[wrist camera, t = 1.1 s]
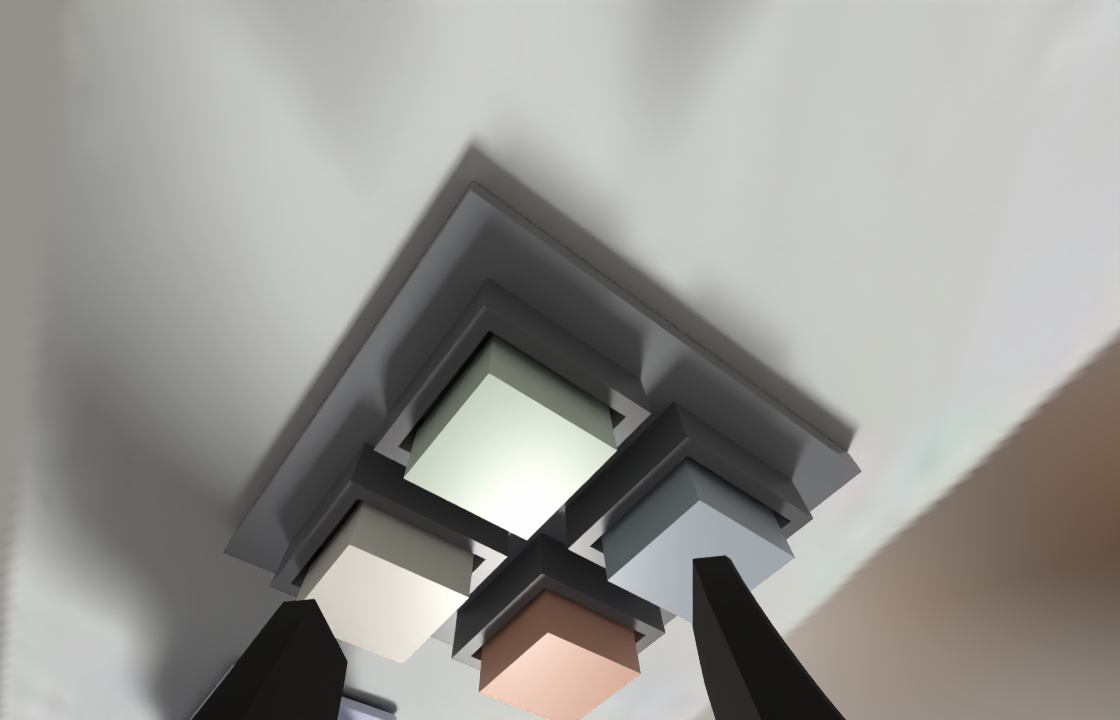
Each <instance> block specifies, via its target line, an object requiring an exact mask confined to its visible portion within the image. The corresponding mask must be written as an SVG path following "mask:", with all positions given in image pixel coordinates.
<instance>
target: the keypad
mask: <svg viewBox="0 0 1120 720" xmlns="http://www.w3.org/2000/svg"><path fill="white" fill-rule="evenodd" d="M493 334H494V335H496V336H498V337H499V338H501V339H502V340H504V341H506V342H507V343H509V344H510V345H512V346H513V347H515V348H517V349H518V350H520V351H521V352H523V353H525V354H526V355H528V356H529V357H531V358H532V359H534V360H536V361H537V362H539V363H540V364H542V365H544V366H545V367H547V368H548V369H550V370H551V371H553V372H555V373H556V374H558V375H559V376H561V377H563V378H564V379H566V380H567V381H569V382H570V383H572V384H574V385H575V386H577V387H578V388H580V389H582V390H583V391H585V392H586V393H588V394H589V395H591V396H593V397H594V398H596V399H597V400H599V401H601V402H602V403H604V404H605V405H607V406H608V407H609V411H610V416H611V421H612V426H613V431H614V436H615V441H616V446H617V451H616V452H615V453H614V454H613V455H612V456H611V457H610V458H609V459H608V460H607V461H606V462H605V463H604V464H603V465H602V466H601V467H600V468H599V469H598V470H597V471H596V472H595V473H594V474H593V475H592V476H591V477H590V478H589V479H588V480H587V481H586V482H585V483H584V484H583V485H582V486H581V487H580V488H579V489H578V490H577V491H576V492H575V493H574V494H573V495H572V496H571V497H570V498H569V499H568V500H567V501H566V502H565V503H564V504H563V505H562V506H561V507H560V508H559V509H558V510H557V511H556V512H555V513H554V514H553V515H552V516H551V517H550V518H549V519H548V520H547V521H546V522H545V523H544V524H543V525H542V526H541V527H540V528H539V529H538V530H537V531H536V532H535V533H534V534H533V535H532V536H531V537H530V538H529V539H528V540H525V539H523V538H521V537H519V536H517V535H515V534H513V533H511V532H509V531H507V530H505V529H503V528H501V527H499V526H497V525H495V524H493V523H491V522H490V521H488V520H486V519H484V518H482V517H480V516H478V515H476V514H474V513H472V512H470V511H468V510H466V509H464V508H462V507H460V506H458V505H456V504H454V503H452V502H450V501H448V500H446V499H444V498H442V497H440V496H438V495H436V494H434V493H432V492H430V491H428V490H426V489H424V488H422V487H420V486H418V485H416V484H414V483H412V482H410V481H408V480H406V479H404V474H405V471H406V467H407V463H408V460H409V456H410V453H411V449H412V446H413V442H414V438H415V435H416V432H417V430H418V429H419V428H420V427H421V425H422V424H423V423H424V422H425V420H426V419H427V418H428V417H429V415H430V414H431V413H432V412H433V410H434V409H435V408H436V406H437V405H438V404H439V403H440V401H441V400H442V399H443V398H444V396H445V395H446V394H447V393H448V391H449V390H450V389H451V387H452V386H453V385H454V384H455V382H456V381H457V380H458V379H459V377H460V376H461V375H462V374H463V372H464V371H465V370H466V369H467V367H468V366H469V365H470V363H471V362H472V361H473V360H474V358H475V357H476V356H477V355H478V353H479V352H480V351H481V350H482V348H483V347H484V346H485V344H486V343H487V342H488V341H489V339H490V338H491V337H492V336H493ZM687 456H688V457H689V458H691V459H692V460H694V461H696V462H697V463H699V464H700V465H702V466H703V467H705V468H707V469H708V470H710V471H711V472H713V473H715V474H716V475H718V476H719V477H721V478H722V479H724V480H726V481H727V482H729V483H730V484H732V485H734V486H735V487H737V488H738V489H740V490H741V491H743V492H745V493H746V494H748V495H749V496H751V497H753V498H754V499H756V500H757V501H759V502H760V503H762V504H764V505H765V506H767V507H768V508H770V509H771V510H772V512H773V514H774V516H775V518H776V520H777V522H778V524H779V526H780V528H781V530H782V532H783V534H784V536H785V538H786V539H787V538H789V537H790V536H791V535H793V534H794V533H795V532H796V531H798V530H799V529H800V528H802V527H803V526H804V525H806V524H807V523H808V522H809V521H811V520H812V519H813V517H812V515H811V513H810V511H812V510H813V509H814V508H815V507H817V506H818V505H819V504H820V503H822V502H823V501H824V500H826V499H827V498H828V497H829V496H831V495H832V494H833V493H835V492H836V491H837V490H838V489H840V488H841V487H842V486H844V485H845V484H846V483H847V482H849V481H850V480H851V479H852V478H854V477H855V476H856V475H858V474H859V473H860V472H861V470H860V468H859V467H858V466H857V464H856V463H855V462H854V460H853V459H852V457H851V456H850V455H849V453H848V452H846V451H845V450H844V449H842V448H841V447H839V446H838V445H837V444H835V443H834V442H833V441H831V440H830V439H828V438H827V437H826V436H824V435H823V434H822V433H820V432H819V431H817V430H816V429H815V428H813V427H812V426H811V425H809V424H808V423H806V422H805V421H804V420H802V419H801V418H800V417H798V416H797V415H795V414H794V413H793V412H791V411H790V410H789V409H787V408H786V407H784V406H783V405H782V404H780V403H779V402H778V401H776V400H775V399H773V398H772V397H771V396H769V395H768V394H767V393H765V392H764V391H762V390H761V389H760V388H758V387H757V386H756V385H754V384H753V383H751V382H750V381H749V380H747V379H746V378H745V377H743V376H742V375H740V374H739V373H738V372H736V371H735V370H734V369H732V368H731V367H729V366H728V365H727V364H725V363H724V362H723V361H721V360H720V359H718V358H717V357H716V356H714V355H713V354H712V353H710V352H709V351H707V350H706V349H705V348H703V347H702V346H701V345H699V344H698V343H696V342H695V341H694V340H692V339H691V338H690V337H688V336H687V335H685V334H684V333H683V332H681V331H680V330H678V329H677V328H676V327H674V326H673V325H672V324H670V323H669V322H667V321H666V320H665V319H663V318H662V317H661V316H659V315H658V314H656V313H655V312H654V311H652V310H651V309H650V308H648V307H647V306H645V305H644V304H643V303H641V302H640V301H639V300H637V299H636V298H634V297H633V296H632V295H630V294H629V293H628V292H626V291H625V290H623V289H622V288H621V287H619V286H618V285H617V284H615V283H614V282H612V281H611V280H610V279H608V278H607V277H606V276H604V275H603V274H601V273H600V272H599V271H597V270H596V269H595V268H593V267H592V266H590V265H589V264H588V263H586V262H585V261H584V260H582V259H581V258H579V257H578V256H577V255H575V254H574V253H573V252H571V251H570V250H568V249H567V248H566V247H564V246H563V245H562V244H560V243H559V242H557V241H556V240H555V239H553V238H552V237H551V236H549V235H548V234H546V233H545V232H544V231H542V230H541V229H540V228H538V227H537V226H535V225H534V224H533V223H531V222H530V221H529V220H527V219H526V218H524V217H523V216H522V215H520V214H519V213H518V212H516V211H515V210H513V209H512V208H511V207H509V206H508V205H507V204H505V203H504V202H502V201H501V200H500V199H498V198H497V197H496V196H494V195H493V194H491V193H490V192H489V191H487V190H486V189H485V188H483V187H482V186H480V185H479V184H478V183H476V182H475V181H473V182H472V184H471V185H470V187H469V188H468V190H467V191H466V193H465V194H464V196H463V197H462V199H461V200H460V202H459V203H458V204H457V206H456V207H455V209H454V210H453V212H452V213H451V215H450V216H449V218H448V219H447V221H446V222H445V224H444V225H443V227H442V228H441V229H440V231H439V232H438V234H437V235H436V237H435V238H434V240H433V241H432V243H431V244H430V246H429V247H428V249H427V250H426V252H425V253H424V255H423V256H422V257H421V259H420V260H419V262H418V263H417V265H416V266H415V268H414V269H413V271H412V272H411V274H410V275H409V277H408V278H407V280H406V281H405V282H404V284H403V285H402V287H401V288H400V290H399V291H398V293H397V294H396V296H395V297H394V299H393V300H392V302H391V303H390V305H389V306H388V308H387V309H386V310H385V312H384V313H383V315H382V316H381V318H380V319H379V321H378V322H377V324H376V325H375V327H374V328H373V330H372V331H371V333H370V334H369V336H368V337H367V338H366V340H365V341H364V343H363V344H362V346H361V347H360V349H359V350H358V352H357V353H356V355H355V356H354V358H353V359H352V361H351V362H350V363H349V365H348V366H347V368H346V369H345V371H344V372H343V374H342V375H341V377H340V378H339V380H338V381H337V383H336V384H335V386H334V387H333V389H332V390H331V391H330V393H329V394H328V396H327V397H326V399H325V400H324V402H323V403H322V405H321V406H320V408H319V409H318V411H317V412H316V414H315V415H314V416H313V418H312V419H311V421H310V422H309V424H308V425H307V427H306V428H305V430H304V431H303V433H302V434H301V436H300V437H299V439H298V440H297V442H296V443H295V444H294V446H293V447H292V449H291V450H290V452H289V453H288V455H287V456H286V458H285V459H284V461H283V462H282V464H281V465H280V467H279V468H278V469H277V471H276V472H275V474H274V475H273V477H272V478H271V480H270V481H269V483H268V484H267V486H266V487H265V489H264V490H263V492H262V493H261V495H260V496H259V497H258V499H257V500H256V502H255V503H254V505H253V506H252V508H251V509H250V511H249V512H248V514H247V515H246V517H245V518H244V520H243V521H242V522H241V524H240V525H239V527H238V528H237V530H236V531H235V533H234V535H233V537H232V538H231V540H230V542H229V543H228V545H227V547H226V549H225V550H224V553H226V554H228V555H231V556H233V557H236V558H238V559H241V560H243V561H246V562H248V563H251V564H253V565H256V566H258V567H260V568H263V569H265V570H268V571H270V572H273V573H275V576H274V578H273V580H272V582H271V584H270V587H272V588H275V589H277V590H280V591H283V592H285V593H288V594H290V595H293V596H295V597H297V596H298V594H299V591H300V589H301V586H302V584H303V581H304V579H305V577H306V574H307V572H308V569H309V567H310V566H311V564H312V563H313V562H314V561H315V559H316V558H317V557H318V556H319V554H320V553H321V552H322V551H323V549H324V548H325V547H326V546H327V544H328V543H329V542H330V540H331V539H332V538H333V537H334V535H335V534H336V533H337V532H338V530H339V529H340V528H341V527H342V525H343V524H344V523H345V522H346V520H347V519H348V518H349V516H350V515H351V514H352V513H353V511H354V510H355V509H356V508H357V506H358V505H359V504H360V503H361V501H364V502H366V503H368V504H370V505H373V506H375V507H377V508H379V509H381V510H383V511H385V512H387V513H389V514H391V515H394V516H396V517H398V518H400V519H402V520H404V521H406V522H408V523H410V524H413V525H415V526H417V527H419V528H421V529H423V530H425V531H427V532H429V533H432V534H434V535H436V536H438V537H440V538H442V539H444V540H446V541H448V542H450V543H453V544H455V545H457V546H459V547H461V548H463V549H465V550H467V551H469V552H472V553H474V557H473V567H472V576H471V585H470V594H469V598H468V599H467V600H466V601H465V602H464V603H463V604H462V605H461V606H460V607H459V608H458V609H457V610H456V611H455V612H454V613H453V614H452V615H451V616H450V617H449V618H448V619H447V620H446V621H445V622H444V623H443V624H442V625H441V626H440V627H439V628H438V629H437V630H436V631H435V632H434V633H433V634H432V635H431V636H430V637H433V638H435V639H438V640H440V641H443V642H445V643H448V644H450V645H452V646H453V650H452V658H451V659H454V660H456V661H459V662H461V663H464V664H466V665H469V666H471V667H474V668H476V669H479V670H481V658H482V645H483V644H484V643H485V642H486V641H488V640H489V639H490V638H491V637H492V636H493V635H494V634H495V633H496V632H497V631H498V630H499V629H501V628H502V627H503V626H504V625H505V624H506V623H507V622H508V621H509V620H510V619H511V618H512V617H514V616H515V615H516V614H517V613H518V612H519V611H520V610H521V609H522V608H523V607H524V606H525V605H527V604H528V603H529V602H530V601H531V600H532V599H533V598H534V597H535V596H536V595H537V594H538V593H540V592H541V591H542V590H543V589H544V588H547V589H550V590H552V591H554V592H556V593H558V594H560V595H562V596H564V597H566V598H569V599H571V600H573V601H575V602H577V603H579V604H581V605H583V606H585V607H587V608H590V609H592V610H594V611H596V612H598V613H600V614H602V615H604V616H606V617H609V618H611V619H613V620H615V621H617V622H619V623H621V624H623V625H625V626H628V627H630V628H632V629H633V631H634V637H635V643H636V649H637V655H638V654H639V653H640V652H641V651H643V650H644V649H645V648H647V647H648V646H649V645H650V644H652V643H653V642H654V641H656V640H657V639H658V638H659V637H661V636H662V635H663V634H665V629H664V625H666V624H667V623H668V622H670V621H671V620H672V619H673V618H675V617H676V616H677V615H675V614H673V613H671V612H669V611H667V610H665V609H663V608H661V607H659V606H657V605H655V604H653V603H651V602H649V601H647V600H645V599H643V598H641V597H639V596H637V595H635V594H633V593H631V592H629V591H627V590H625V589H623V588H621V587H619V586H617V585H615V584H613V583H611V582H609V581H607V574H606V567H605V559H604V552H603V544H602V537H601V535H602V534H604V533H605V532H606V531H607V530H608V529H609V528H610V527H611V526H612V525H613V524H614V523H615V522H617V521H618V520H619V519H620V518H621V517H622V516H623V515H624V514H625V513H626V512H627V511H628V510H630V509H631V508H632V507H633V506H634V505H635V504H636V503H637V502H638V501H639V500H640V499H641V498H643V497H644V496H645V495H646V494H647V493H648V492H649V491H650V490H651V489H652V488H653V487H654V486H656V485H657V484H658V483H659V482H660V481H661V480H662V479H663V478H664V477H665V476H666V475H667V474H669V473H670V472H671V471H672V470H673V469H674V468H675V467H676V466H677V465H678V464H679V463H680V462H682V461H683V460H684V459H685V458H686V457H687Z"/></svg>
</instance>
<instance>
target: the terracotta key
mask: <svg viewBox="0 0 1120 720" xmlns="http://www.w3.org/2000/svg"><path fill="white" fill-rule="evenodd" d="M639 674H641V673H640V667H639V661H638V655H637V649H636V643H635V637H634V631H633V629H632V628H630V627H628V626H625V625H623V624H621V623H619V622H617V621H615V620H613V619H611V618H609V617H606V616H604V615H602V614H600V613H598V612H596V611H594V610H592V609H590V608H587V607H585V606H583V605H581V604H579V603H577V602H575V601H573V600H571V599H569V598H566V597H564V596H562V595H560V594H558V593H556V592H554V591H552V590H550V589H547V588H544V589H543V590H542V591H541V592H540V593H538V594H537V595H536V596H535V597H534V598H533V599H532V600H531V601H530V602H529V603H528V604H527V605H525V606H524V607H523V608H522V609H521V610H520V611H519V612H518V613H517V614H516V615H515V616H514V617H512V618H511V619H510V620H509V621H508V622H507V623H506V624H505V625H504V626H503V627H502V628H501V629H499V630H498V631H497V632H496V633H495V634H494V635H493V636H492V637H491V638H490V639H489V640H488V641H486V642H485V643H484V644H483V645H482V658H481V671H480V683H479V693H481V694H483V695H486V696H489V697H491V698H494V699H497V700H499V701H502V702H504V703H507V704H510V705H512V706H515V707H518V708H520V709H523V710H525V711H528V712H531V713H533V714H536V715H538V716H541V717H544V718H546V719H549V720H580V719H581V718H582V717H584V716H585V715H586V714H588V713H589V712H590V711H592V710H593V709H594V708H596V707H597V706H598V705H600V704H601V703H602V702H604V701H605V700H606V699H608V698H609V697H610V696H612V695H613V694H614V693H616V692H617V691H618V690H620V689H621V688H622V687H624V686H625V685H626V684H627V683H629V682H630V681H631V680H633V679H634V678H635V677H637V676H638V675H639Z"/></svg>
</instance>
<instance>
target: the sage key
mask: <svg viewBox="0 0 1120 720" xmlns="http://www.w3.org/2000/svg"><path fill="white" fill-rule="evenodd" d="M616 451H617V446H616V441H615V436H614V431H613V426H612V421H611V416H610V411H609V407H608V406H607V405H605V404H604V403H602V402H601V401H599V400H597V399H596V398H594V397H593V396H591V395H589V394H588V393H586V392H585V391H583V390H582V389H580V388H578V387H577V386H575V385H574V384H572V383H570V382H569V381H567V380H566V379H564V378H563V377H561V376H559V375H558V374H556V373H555V372H553V371H551V370H550V369H548V368H547V367H545V366H544V365H542V364H540V363H539V362H537V361H536V360H534V359H532V358H531V357H529V356H528V355H526V354H525V353H523V352H521V351H520V350H518V349H517V348H515V347H513V346H512V345H510V344H509V343H507V342H506V341H504V340H502V339H501V338H499V337H498V336H496V335H494V334H493V336H492V337H491V338H490V339H489V341H488V342H487V343H486V344H485V346H484V347H483V348H482V350H481V351H480V352H479V353H478V355H477V356H476V357H475V358H474V360H473V361H472V362H471V363H470V365H469V366H468V367H467V369H466V370H465V371H464V372H463V374H462V375H461V376H460V377H459V379H458V380H457V381H456V382H455V384H454V385H453V386H452V387H451V389H450V390H449V391H448V393H447V394H446V395H445V396H444V398H443V399H442V400H441V401H440V403H439V404H438V405H437V406H436V408H435V409H434V410H433V412H432V413H431V414H430V415H429V417H428V418H427V419H426V420H425V422H424V423H423V424H422V425H421V427H420V428H419V429H418V430H417V432H416V435H415V438H414V442H413V446H412V449H411V453H410V456H409V460H408V463H407V467H406V471H405V474H404V479H406V480H408V481H410V482H412V483H414V484H416V485H418V486H420V487H422V488H424V489H426V490H428V491H430V492H432V493H434V494H436V495H438V496H440V497H442V498H444V499H446V500H448V501H450V502H452V503H454V504H456V505H458V506H460V507H462V508H464V509H466V510H468V511H470V512H472V513H474V514H476V515H478V516H480V517H482V518H484V519H486V520H488V521H490V522H491V523H493V524H495V525H497V526H499V527H501V528H503V529H505V530H507V531H509V532H511V533H513V534H515V535H517V536H519V537H521V538H523V539H525V540H528V539H529V538H530V537H531V536H532V535H533V534H534V533H535V532H536V531H537V530H538V529H539V528H540V527H541V526H542V525H543V524H544V523H545V522H546V521H547V520H548V519H549V518H550V517H551V516H552V515H553V514H554V513H555V512H556V511H557V510H558V509H559V508H560V507H561V506H562V505H563V504H564V503H565V502H566V501H567V500H568V499H569V498H570V497H571V496H572V495H573V494H574V493H575V492H576V491H577V490H578V489H579V488H580V487H581V486H582V485H583V484H584V483H585V482H586V481H587V480H588V479H589V478H590V477H591V476H592V475H593V474H594V473H595V472H596V471H597V470H598V469H599V468H600V467H601V466H602V465H603V464H604V463H605V462H606V461H607V460H608V459H609V458H610V457H611V456H612V455H613V454H614V453H615V452H616Z"/></svg>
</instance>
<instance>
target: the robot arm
mask: <svg viewBox="0 0 1120 720" xmlns="http://www.w3.org/2000/svg"><path fill="white" fill-rule="evenodd" d="M693 631H694V636H695V641H696V646H697V650H698V655H699V660H700V665H701V669H702V674H703V678H704V683H705V687H706V690H707V693H708V696H709V700H710V703H711V706H712V709H713V712H714V716H715V719H716V720H846V719H845V718H844V717H843V716H842V715H841V713H840V712H839V711H838V710H837V709H836V707H835V706H834V705H833V704H832V702H831V701H830V700H829V699H828V698H827V696H825V694H824V693H823V692H822V690H821V689H820V688H819V686H817V684H816V683H815V681H814V680H813V679H812V677H811V676H810V675H809V674H808V672H807V671H806V670H805V669H804V667H803V666H802V665H801V663H800V662H799V660H798V659H797V658H796V656H795V655H794V654H793V652H792V651H791V650H790V648H789V647H788V646H787V644H786V643H785V642H784V640H783V639H782V637H781V636H780V635H779V633H778V632H777V630H776V629H775V628H774V626H773V625H772V623H771V622H770V620H769V619H768V617H767V616H766V615H765V613H764V612H763V610H762V609H761V607H760V606H759V604H758V603H757V601H756V600H755V598H754V597H753V595H752V593H751V592H750V590H749V589H748V587H747V586H746V584H745V582H744V581H743V579H742V577H741V576H740V574H739V572H738V571H737V569H736V567H735V565H734V564H733V562H732V560H731V559H730V558H729V557H727V556H726V555H722V556H713V557H704V558H694V559H693ZM346 668H347V660H346V658H345V656H344V654H343V652H342V650H341V648H340V646H339V644H338V642H337V640H336V638H335V637H334V635H333V633H332V631H331V629H330V627H329V625H328V623H327V621H326V619H325V617H324V615H323V613H322V611H321V610H320V608H319V606H318V604H317V602H316V600H315V599H307V600H297V601H288V602H283V603H282V605H281V606H280V607H279V608H278V610H277V611H276V612H275V613H274V615H273V616H272V617H271V619H270V620H269V621H268V622H267V624H266V625H265V626H264V628H263V629H262V630H261V631H260V633H259V634H258V635H257V637H256V638H255V639H254V641H253V642H252V643H251V644H250V646H249V647H248V648H247V650H246V651H245V652H244V654H243V655H242V656H241V657H240V659H239V660H238V661H237V663H236V664H234V665H232V666H231V667H230V669H229V670H228V671H227V672H226V674H225V675H224V676H223V677H222V679H221V680H220V681H219V683H218V684H217V685H216V686H215V688H214V689H213V690H212V691H211V693H210V694H209V695H208V696H207V698H206V699H205V700H204V702H203V703H202V704H201V705H200V707H199V708H198V709H197V710H196V712H195V713H194V714H193V715H192V717H191V718H190V719H189V720H397V719H396V717H395V716H394V715H393V714H391V713H388V712H386V711H383V710H380V709H377V708H374V707H371V706H368V705H365V704H362V703H360V702H357V701H354V700H351V699H348V698H345V697H342V693H343V687H344V680H345V674H346Z"/></svg>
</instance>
